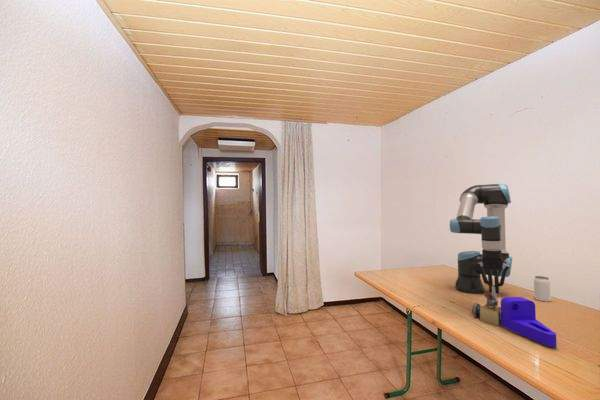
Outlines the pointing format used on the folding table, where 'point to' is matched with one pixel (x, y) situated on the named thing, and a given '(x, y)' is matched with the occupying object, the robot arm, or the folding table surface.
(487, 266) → the robot arm
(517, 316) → the bracket
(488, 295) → the lever
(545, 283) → the can
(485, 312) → the valve
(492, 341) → the folding table surface
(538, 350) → the folding table surface
